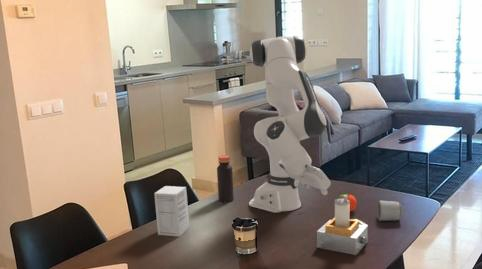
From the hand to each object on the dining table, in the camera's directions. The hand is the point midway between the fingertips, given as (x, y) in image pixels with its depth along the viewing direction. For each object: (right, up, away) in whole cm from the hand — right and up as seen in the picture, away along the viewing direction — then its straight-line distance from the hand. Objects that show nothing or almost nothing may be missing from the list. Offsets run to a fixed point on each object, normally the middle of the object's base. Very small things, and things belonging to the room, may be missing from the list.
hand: (316, 190), depth 184 cm
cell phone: (+13, -16, +16) cm, 26 cm away
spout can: (+9, -13, -1) cm, 16 cm away
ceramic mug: (+31, -14, +22) cm, 41 cm away
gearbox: (+9, -19, 0) cm, 21 cm away
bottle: (-33, -10, +52) cm, 62 cm away
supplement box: (-52, -18, +19) cm, 58 cm away
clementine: (+17, -12, +32) cm, 38 cm away
